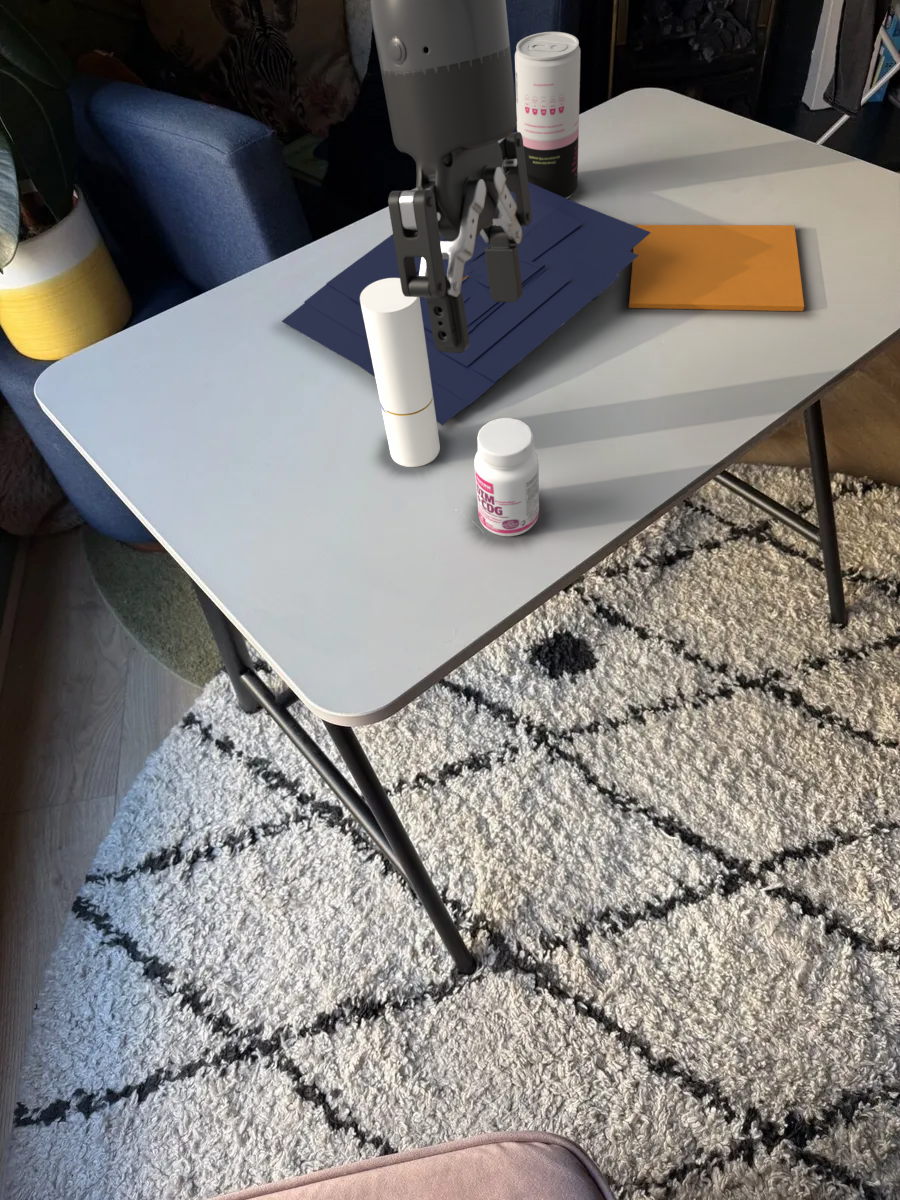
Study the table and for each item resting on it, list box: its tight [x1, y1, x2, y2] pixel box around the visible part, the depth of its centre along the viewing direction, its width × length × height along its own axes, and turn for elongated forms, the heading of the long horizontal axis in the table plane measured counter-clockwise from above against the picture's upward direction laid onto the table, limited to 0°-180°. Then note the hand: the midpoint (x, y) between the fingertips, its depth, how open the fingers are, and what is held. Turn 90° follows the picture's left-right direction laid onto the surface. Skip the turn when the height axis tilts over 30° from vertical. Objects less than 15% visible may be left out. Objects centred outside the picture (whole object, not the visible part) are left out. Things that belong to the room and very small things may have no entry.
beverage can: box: [514, 31, 581, 199], centre depth 93 cm, size 6×6×15 cm
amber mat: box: [628, 224, 805, 312], centre depth 87 cm, size 16×14×1 cm
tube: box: [360, 278, 441, 468], centre depth 69 cm, size 4×4×15 cm
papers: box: [281, 182, 651, 426], centre depth 86 cm, size 24×30×4 cm
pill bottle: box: [473, 417, 540, 537], centre depth 66 cm, size 5×5×8 cm
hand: (481, 324), depth 60 cm, fingers open, 8 cm apart
